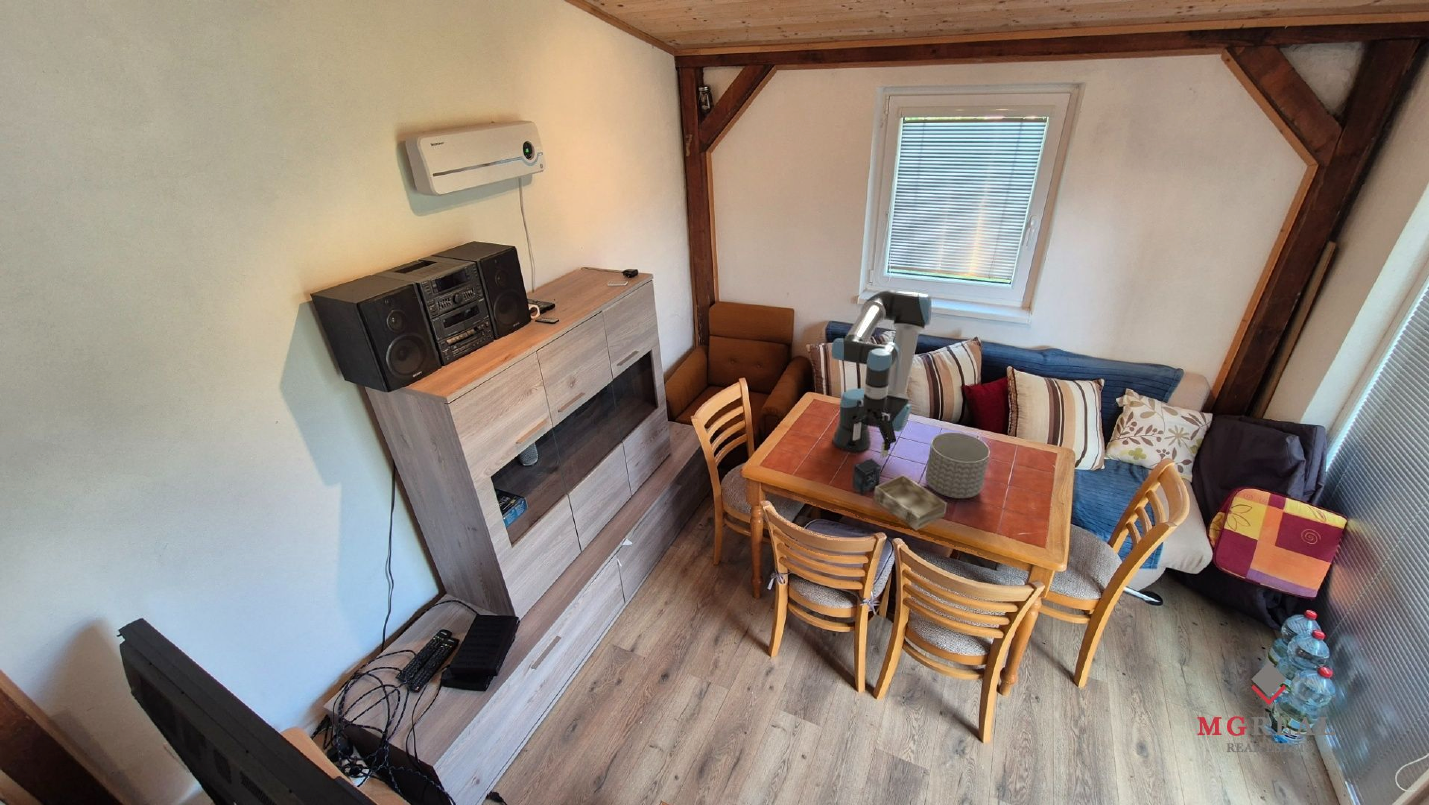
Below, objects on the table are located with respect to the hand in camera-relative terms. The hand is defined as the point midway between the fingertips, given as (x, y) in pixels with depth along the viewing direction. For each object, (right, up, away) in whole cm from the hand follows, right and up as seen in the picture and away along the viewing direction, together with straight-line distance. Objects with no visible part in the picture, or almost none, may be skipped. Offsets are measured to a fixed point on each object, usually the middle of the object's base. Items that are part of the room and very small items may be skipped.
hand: (869, 447), depth 198 cm
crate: (+13, -21, -1) cm, 25 cm away
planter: (+32, -16, +7) cm, 36 cm away
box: (+1, -16, +9) cm, 18 cm away
